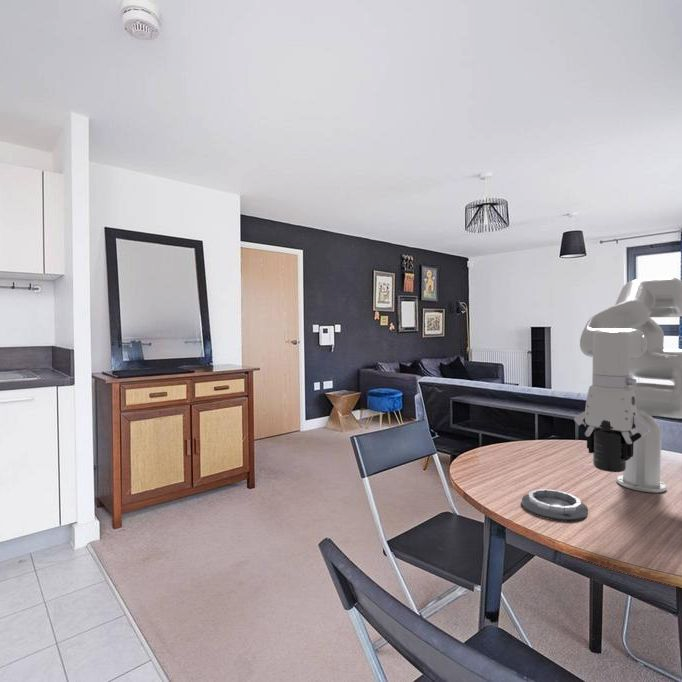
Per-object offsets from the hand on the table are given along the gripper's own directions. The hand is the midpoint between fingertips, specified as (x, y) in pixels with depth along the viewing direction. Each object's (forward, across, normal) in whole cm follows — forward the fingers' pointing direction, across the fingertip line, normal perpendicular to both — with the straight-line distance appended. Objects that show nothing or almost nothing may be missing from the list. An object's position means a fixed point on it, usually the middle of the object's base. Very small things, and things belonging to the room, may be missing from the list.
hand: (609, 454), depth 106 cm
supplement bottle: (+3, 0, 0) cm, 3 cm away
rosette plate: (+18, +14, -2) cm, 23 cm away
